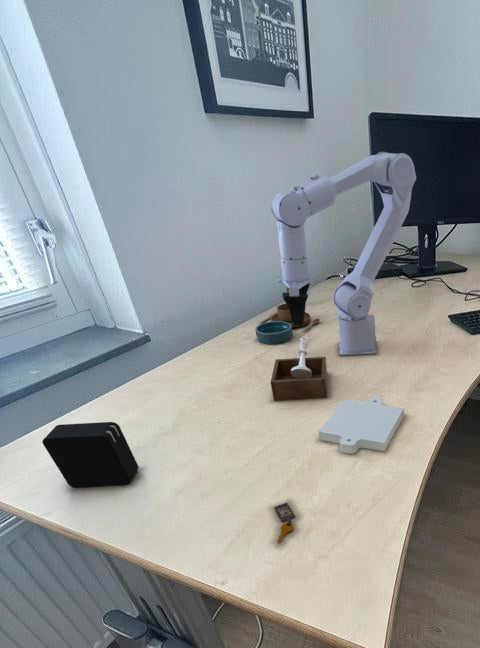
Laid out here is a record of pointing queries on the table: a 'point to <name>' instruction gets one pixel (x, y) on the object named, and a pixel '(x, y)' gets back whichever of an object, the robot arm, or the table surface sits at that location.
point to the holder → (299, 380)
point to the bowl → (274, 332)
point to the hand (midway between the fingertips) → (299, 319)
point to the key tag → (284, 518)
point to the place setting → (289, 316)
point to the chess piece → (302, 362)
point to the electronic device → (91, 454)
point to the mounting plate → (362, 425)
